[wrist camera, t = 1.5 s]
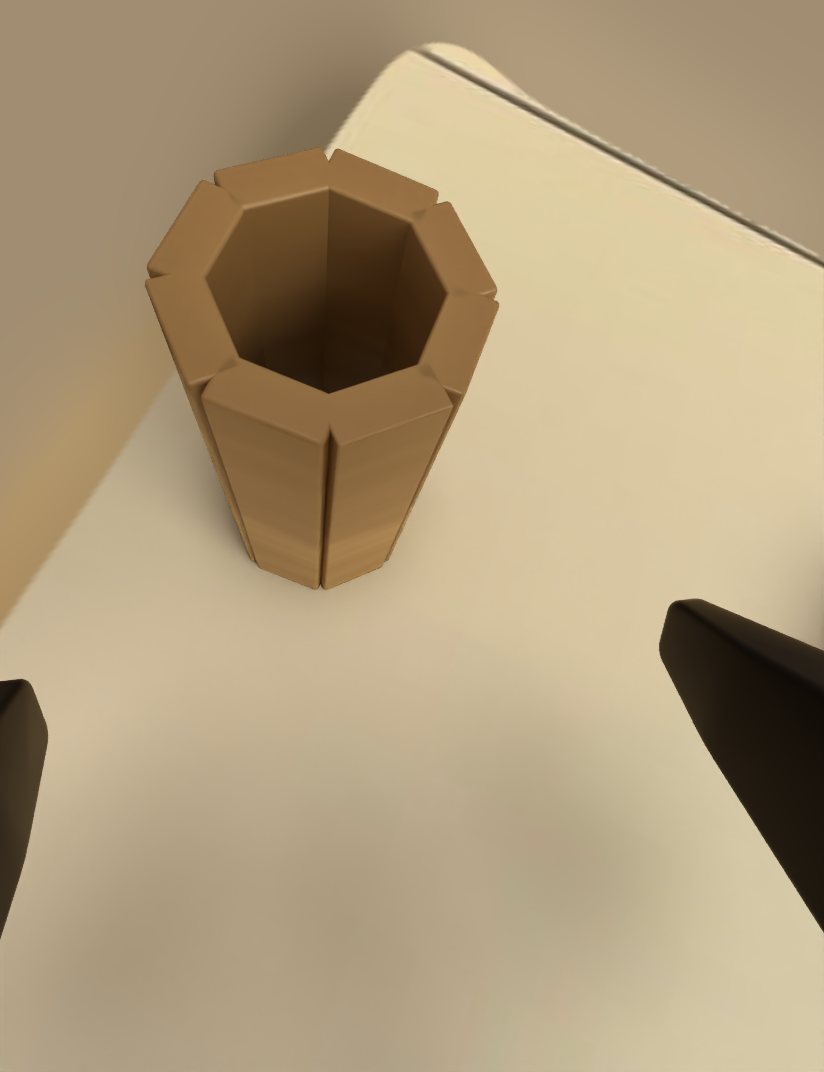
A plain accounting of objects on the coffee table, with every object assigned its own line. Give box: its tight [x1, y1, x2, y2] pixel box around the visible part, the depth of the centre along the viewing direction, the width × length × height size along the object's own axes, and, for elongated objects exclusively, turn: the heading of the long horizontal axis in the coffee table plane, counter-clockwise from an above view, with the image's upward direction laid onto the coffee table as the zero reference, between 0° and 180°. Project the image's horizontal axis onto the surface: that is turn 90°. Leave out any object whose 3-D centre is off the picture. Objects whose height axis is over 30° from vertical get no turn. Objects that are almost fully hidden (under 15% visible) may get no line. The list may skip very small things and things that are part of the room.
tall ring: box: [145, 148, 499, 590], centre depth 17 cm, size 6×6×12 cm
